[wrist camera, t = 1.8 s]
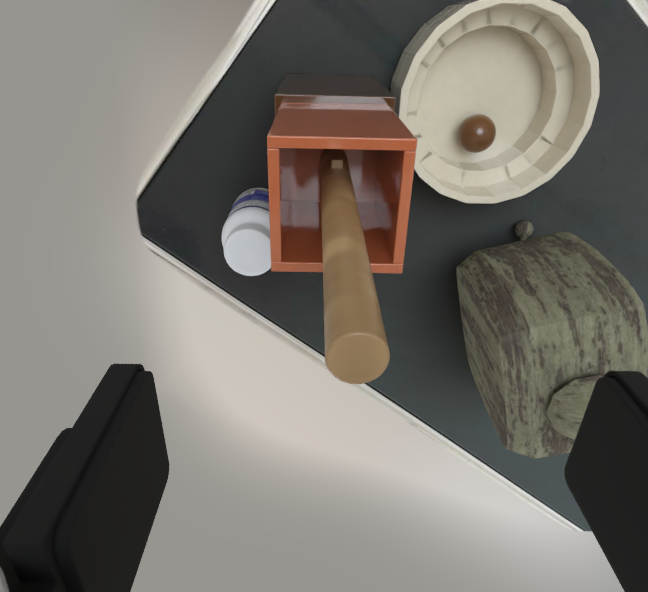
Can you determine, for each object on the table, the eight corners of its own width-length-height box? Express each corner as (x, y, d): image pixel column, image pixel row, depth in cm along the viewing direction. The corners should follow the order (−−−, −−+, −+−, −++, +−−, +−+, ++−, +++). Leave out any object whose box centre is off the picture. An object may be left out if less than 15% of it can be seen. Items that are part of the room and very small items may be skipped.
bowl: (397, -7, 37) (410, -11, 32) (583, -1, 37) (627, -5, 32) (381, 180, 44) (390, 202, 39) (539, 183, 44) (569, 205, 39)
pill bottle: (288, 242, 47) (283, 286, 39) (233, 239, 47) (216, 283, 39) (290, 187, 44) (284, 223, 37) (231, 184, 44) (213, 219, 36)
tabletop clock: (543, 330, 52) (705, 554, 30) (457, 347, 53) (555, 577, 31) (539, 202, 45) (745, 372, 23) (440, 224, 46) (550, 408, 24)
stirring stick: (319, 178, 30) (324, 397, 13) (320, 138, 29) (326, 318, 12) (345, 179, 30) (385, 397, 13) (347, 138, 29) (394, 319, 12)
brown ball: (456, 110, 41) (466, 117, 38) (492, 111, 41) (504, 117, 38) (451, 147, 42) (459, 156, 40) (485, 148, 42) (497, 157, 40)
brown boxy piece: (286, 72, 40) (256, 125, 20) (373, 74, 40) (428, 129, 20) (287, 160, 43) (262, 279, 23) (367, 162, 43) (410, 281, 24)
